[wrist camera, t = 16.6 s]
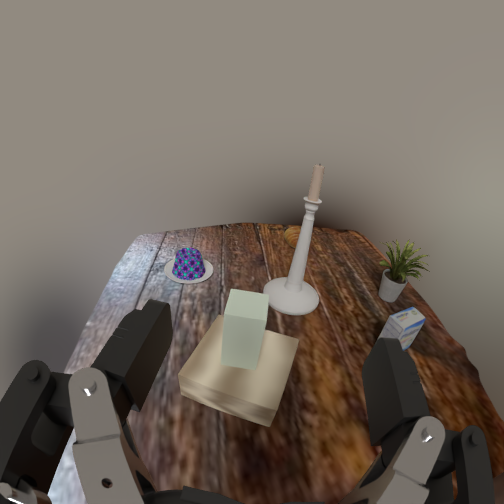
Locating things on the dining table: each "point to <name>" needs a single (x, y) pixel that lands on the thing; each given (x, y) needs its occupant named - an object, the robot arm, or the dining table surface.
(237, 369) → the oak block
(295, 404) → the dining table surface
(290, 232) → the pastry
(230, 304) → the pale green block
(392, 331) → the medicine box
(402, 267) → the house plant
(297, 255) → the candlestick
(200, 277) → the pudding
